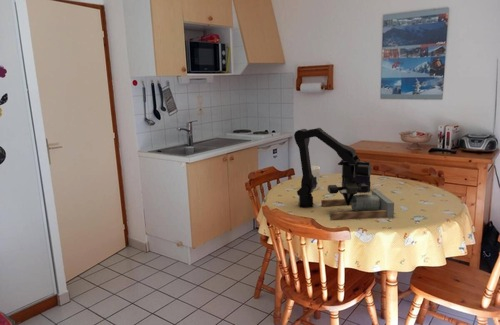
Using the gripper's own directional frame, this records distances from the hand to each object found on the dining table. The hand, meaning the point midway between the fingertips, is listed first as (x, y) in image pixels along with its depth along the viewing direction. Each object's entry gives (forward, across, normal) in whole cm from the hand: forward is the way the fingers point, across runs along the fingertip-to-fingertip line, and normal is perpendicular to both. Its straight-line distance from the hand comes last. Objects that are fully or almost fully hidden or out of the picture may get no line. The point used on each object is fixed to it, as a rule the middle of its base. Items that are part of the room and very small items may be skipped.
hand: (347, 205), depth 187 cm
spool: (+3, +8, 0) cm, 9 cm away
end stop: (+3, +17, 0) cm, 17 cm away
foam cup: (+3, -10, +42) cm, 43 cm away
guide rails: (+3, +2, 0) cm, 4 cm away
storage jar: (+3, +17, +34) cm, 38 cm away
